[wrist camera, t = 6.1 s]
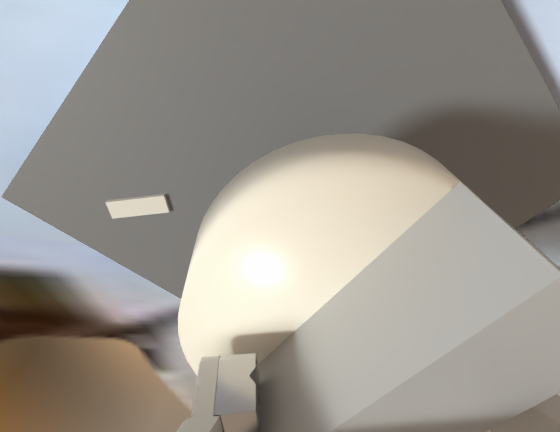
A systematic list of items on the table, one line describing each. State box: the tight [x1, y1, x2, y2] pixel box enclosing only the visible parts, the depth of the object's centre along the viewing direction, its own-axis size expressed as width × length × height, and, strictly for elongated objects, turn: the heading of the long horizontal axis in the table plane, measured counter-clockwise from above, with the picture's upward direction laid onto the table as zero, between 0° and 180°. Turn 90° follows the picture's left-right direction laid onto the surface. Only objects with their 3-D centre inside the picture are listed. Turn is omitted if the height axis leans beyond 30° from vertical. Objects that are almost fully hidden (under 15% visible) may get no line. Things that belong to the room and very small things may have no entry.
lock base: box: [2, 0, 560, 298], centre depth 16 cm, size 22×22×8 cm
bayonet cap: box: [178, 133, 560, 432], centre depth 10 cm, size 10×11×6 cm
